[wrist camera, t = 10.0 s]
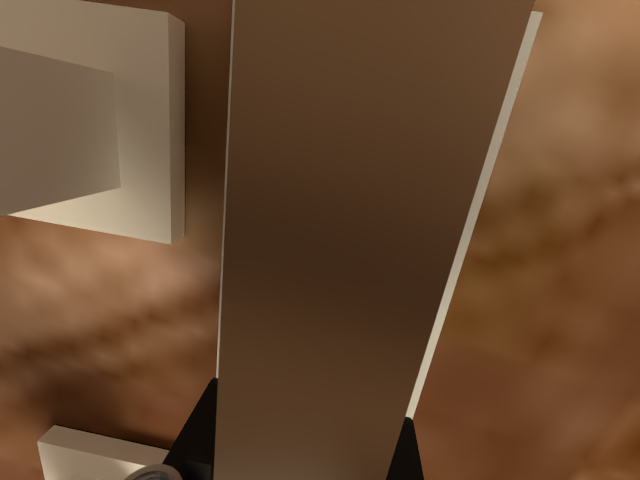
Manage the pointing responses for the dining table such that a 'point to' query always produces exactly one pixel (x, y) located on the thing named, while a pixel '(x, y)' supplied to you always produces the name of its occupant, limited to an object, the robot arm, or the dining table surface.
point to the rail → (346, 218)
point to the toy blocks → (93, 117)
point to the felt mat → (473, 211)
